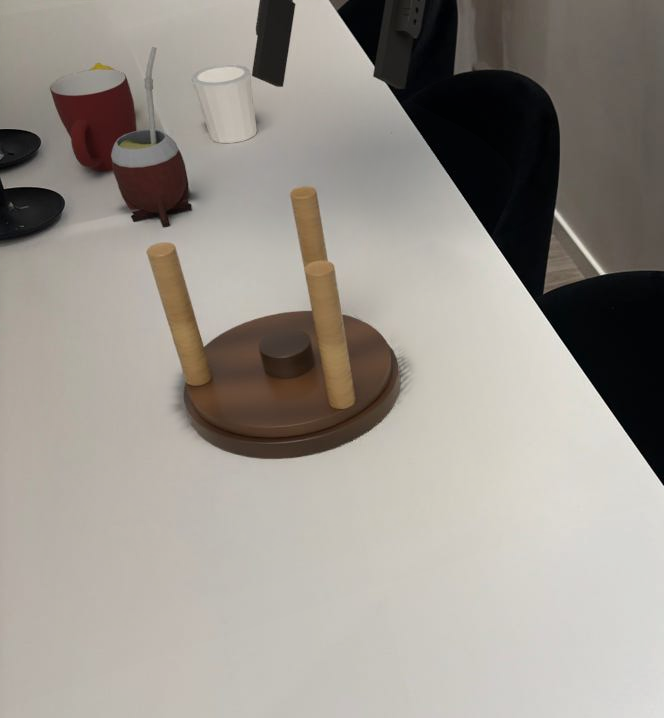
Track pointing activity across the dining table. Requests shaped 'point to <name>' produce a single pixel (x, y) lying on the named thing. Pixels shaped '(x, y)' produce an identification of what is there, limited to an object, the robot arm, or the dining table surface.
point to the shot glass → (226, 102)
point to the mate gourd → (150, 168)
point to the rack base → (305, 442)
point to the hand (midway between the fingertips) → (325, 82)
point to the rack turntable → (278, 349)
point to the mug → (95, 113)
